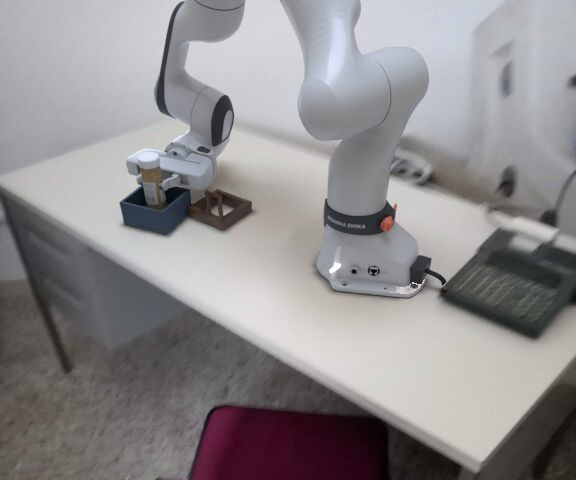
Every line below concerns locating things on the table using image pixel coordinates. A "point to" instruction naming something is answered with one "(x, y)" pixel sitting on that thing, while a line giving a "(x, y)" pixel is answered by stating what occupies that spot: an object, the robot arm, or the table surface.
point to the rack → (219, 209)
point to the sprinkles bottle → (152, 180)
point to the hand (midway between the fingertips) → (150, 184)
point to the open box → (153, 219)
